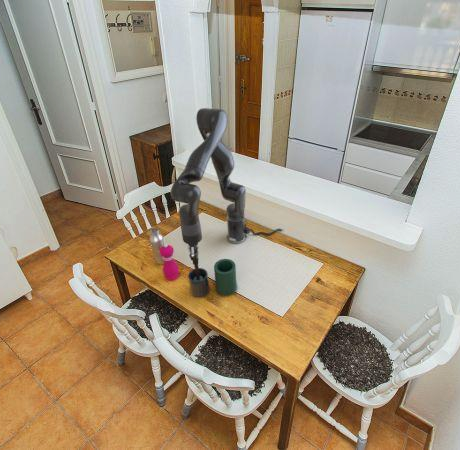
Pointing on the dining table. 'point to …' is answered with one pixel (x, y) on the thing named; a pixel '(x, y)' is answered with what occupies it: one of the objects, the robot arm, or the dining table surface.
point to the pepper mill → (169, 262)
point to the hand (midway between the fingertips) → (195, 262)
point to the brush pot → (199, 283)
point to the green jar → (225, 277)
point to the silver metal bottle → (156, 245)
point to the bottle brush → (197, 273)
